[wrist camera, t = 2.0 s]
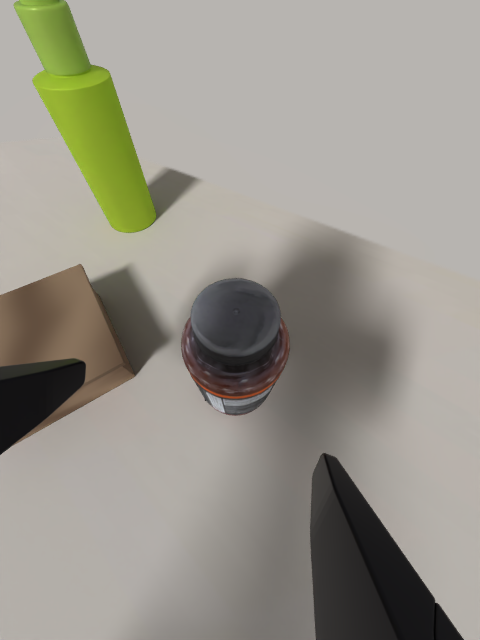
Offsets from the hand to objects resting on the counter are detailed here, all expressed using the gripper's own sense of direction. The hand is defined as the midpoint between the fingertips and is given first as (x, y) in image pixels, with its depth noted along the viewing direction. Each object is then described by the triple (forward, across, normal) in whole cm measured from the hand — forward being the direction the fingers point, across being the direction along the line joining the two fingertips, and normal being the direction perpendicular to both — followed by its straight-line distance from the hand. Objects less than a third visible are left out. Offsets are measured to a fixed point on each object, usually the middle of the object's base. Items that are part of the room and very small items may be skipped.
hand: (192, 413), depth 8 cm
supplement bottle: (+11, 0, +5) cm, 12 cm away
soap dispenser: (+22, +19, -6) cm, 30 cm away
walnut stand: (+8, +15, +7) cm, 19 cm away
